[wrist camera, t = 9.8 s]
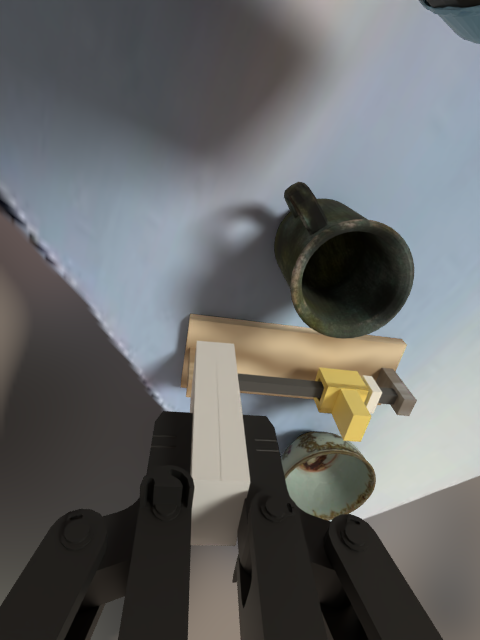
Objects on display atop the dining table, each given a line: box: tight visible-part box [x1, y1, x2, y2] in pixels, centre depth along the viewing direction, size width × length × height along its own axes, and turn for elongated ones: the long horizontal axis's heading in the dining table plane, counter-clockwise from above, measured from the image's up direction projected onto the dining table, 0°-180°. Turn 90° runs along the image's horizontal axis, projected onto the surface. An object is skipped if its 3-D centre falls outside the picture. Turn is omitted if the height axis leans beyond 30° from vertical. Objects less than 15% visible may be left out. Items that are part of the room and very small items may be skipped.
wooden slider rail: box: [181, 314, 417, 416], centre depth 48 cm, size 10×28×8 cm, turn 80°
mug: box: [274, 182, 414, 339], centre depth 38 cm, size 11×15×12 cm
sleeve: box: [313, 367, 372, 442], centre depth 45 cm, size 4×5×8 cm
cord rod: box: [238, 373, 398, 405], centre depth 46 cm, size 1×24×1 cm, turn 80°
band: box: [362, 375, 382, 413], centre depth 47 cm, size 3×1×3 cm, turn 169°
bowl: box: [281, 432, 376, 521], centre depth 56 cm, size 14×13×8 cm
